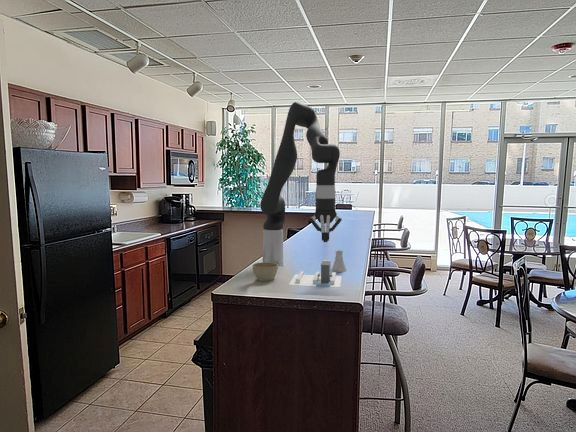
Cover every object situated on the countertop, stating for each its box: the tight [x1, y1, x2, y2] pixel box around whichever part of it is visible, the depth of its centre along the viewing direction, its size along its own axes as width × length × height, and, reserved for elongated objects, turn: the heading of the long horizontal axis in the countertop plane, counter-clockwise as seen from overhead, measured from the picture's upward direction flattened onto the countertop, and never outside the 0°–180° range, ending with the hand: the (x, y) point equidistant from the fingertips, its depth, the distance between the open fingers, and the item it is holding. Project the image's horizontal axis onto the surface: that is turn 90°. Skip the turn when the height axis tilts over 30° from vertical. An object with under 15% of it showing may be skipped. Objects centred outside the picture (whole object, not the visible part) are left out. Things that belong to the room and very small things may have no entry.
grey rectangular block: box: [320, 259, 332, 283], centre depth 153 cm, size 3×9×7 cm, turn 170°
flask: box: [330, 249, 348, 273], centre depth 169 cm, size 7×7×10 cm
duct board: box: [288, 270, 342, 288], centre depth 153 cm, size 19×16×4 cm
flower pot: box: [252, 261, 279, 282], centre depth 155 cm, size 10×10×7 cm
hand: (325, 241), depth 152 cm, fingers closed
